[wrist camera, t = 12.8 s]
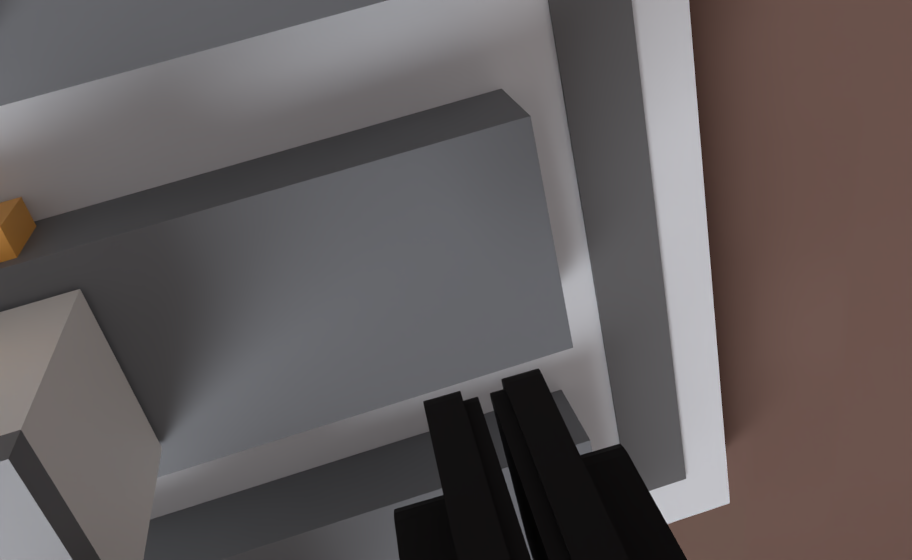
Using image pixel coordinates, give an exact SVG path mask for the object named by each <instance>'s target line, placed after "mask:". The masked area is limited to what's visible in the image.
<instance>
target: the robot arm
mask: <svg viewBox="0 0 912 560" xmlns="http://www.w3.org/2000/svg"><path fill="white" fill-rule="evenodd" d="M502 386H503V389H502V390H499V391H495V392H492V393H490V397H491V402H492V405H493V409H494V413H495V417H496V421H497V425H498V429H499V433H500V437H501V441H502V445H503V449H504V453H505V456H506V460H507V464H508V468H509V472H510V476H511V480H512V484H513V488H514V492H515V496H516V500H517V503H518V507H519V511H520V515H521V519H522V523H523V527H524V531H525V535H526V538H527V542H528V545H529V549H530V552H531V555H532V558H533V560H687V559H686V557H685V555H684V553H683V552H682V550H681V548H680V546H679V544H678V543H677V541H676V539H675V537H674V535H673V534H672V532H671V530H670V528H669V526H668V525H667V523H666V521H665V519H664V517H663V516H662V514H661V512H660V510H659V508H658V507H657V505H656V503H655V501H654V499H653V498H652V496H651V494H650V492H649V490H648V489H647V487H646V485H645V483H644V481H643V480H642V478H641V476H640V474H639V472H638V470H637V469H636V467H635V465H634V463H633V461H632V460H631V458H630V456H629V454H628V453H627V451H626V450H625V448H624V447H623V446H622V445H621V444H617V445H613V446H610V447H606V448H603V449H600V450H596V451H593V452H589V453H586V454H582V455H580V454H579V452H578V450H577V447H576V445H575V443H574V441H573V439H572V437H571V435H570V433H569V430H568V428H567V426H566V424H565V422H564V420H563V418H562V415H561V413H560V411H559V409H558V407H557V405H556V403H555V401H554V398H553V396H552V394H551V392H550V390H549V388H548V386H547V384H546V381H545V379H544V377H543V375H542V373H541V371H540V369H534V370H531V371H527V372H524V373H520V374H517V375H513V376H510V377H506V378H503V379H502ZM423 403H424V408H425V413H426V418H427V422H428V427H429V431H430V436H431V441H432V445H433V450H434V454H435V459H436V463H437V468H438V473H439V477H440V482H441V486H442V491H443V495H441V496H438V497H434V498H431V499H428V500H424V501H421V502H417V503H414V504H410V505H407V506H404V507H400V508H397V509H394V522H395V530H396V537H397V545H398V552H399V560H531V558H530V554H529V551H528V548H527V545H526V542H525V539H524V536H523V533H522V530H521V527H520V524H519V521H518V518H517V515H516V512H515V508H514V505H513V502H512V499H511V496H510V493H509V490H508V487H507V484H506V481H505V478H504V475H503V472H502V469H501V466H500V463H499V459H498V456H497V453H496V450H495V447H494V444H493V441H492V438H491V435H490V432H489V429H488V426H487V423H486V420H485V417H484V413H483V410H482V407H481V404H480V401H479V398H478V397H474V398H471V399H467V400H464V401H463V398H462V395H461V392H460V391H457V392H454V393H450V394H447V395H443V396H440V397H436V398H433V399H429V400H426V401H423Z"/></svg>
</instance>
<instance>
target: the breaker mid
mask: <svg viewBox="0 0 912 560" xmlns="http://www.w3.org/2000/svg"><path fill="white" fill-rule="evenodd" d="M161 451H162V447H161V445H160V443H159V441H158V439H157V437H156V435H155V433H154V431H153V429H152V428H151V426H150V424H149V422H148V420H147V418H146V416H145V414H144V412H143V410H142V408H141V406H140V404H139V402H138V400H137V398H136V396H135V395H134V393H133V391H132V389H131V387H130V385H129V383H128V381H127V379H126V377H125V375H124V373H123V371H122V369H121V367H120V365H119V363H118V362H117V360H116V358H115V356H114V354H113V352H112V350H111V348H110V346H109V344H108V342H107V340H106V338H105V336H104V334H103V332H102V330H101V329H100V327H99V325H98V323H97V321H96V319H95V317H94V315H93V313H92V311H91V309H90V307H89V305H88V303H87V301H86V299H85V297H84V296H83V294H82V292H81V290H80V289H78V290H74V291H71V292H67V293H64V294H61V295H57V296H54V297H50V298H47V299H44V300H40V301H37V302H33V303H30V304H26V305H23V306H20V307H16V308H13V309H9V310H6V311H2V312H0V560H143V559H144V553H145V547H146V541H147V535H148V529H149V523H150V517H151V511H152V505H153V499H154V493H155V487H156V481H157V475H158V469H159V463H160V457H161Z"/></svg>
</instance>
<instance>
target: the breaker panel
mask: <svg viewBox="0 0 912 560" xmlns="http://www.w3.org/2000/svg"><path fill="white" fill-rule="evenodd" d="M78 289H80V290H81V292H82V294H83V296H84V297H85V299H86V301H87V303H88V305H89V307H90V309H91V311H92V313H93V315H94V317H95V319H96V321H97V323H98V325H99V327H100V329H101V330H102V332H103V334H104V336H105V338H106V340H107V342H108V344H109V346H110V348H111V350H112V352H113V354H114V356H115V358H116V360H117V362H118V363H119V365H120V367H121V369H122V371H123V373H124V375H125V377H126V379H127V381H128V383H129V385H130V387H131V389H132V391H133V393H134V395H135V396H136V398H137V400H138V402H139V404H140V406H141V408H142V410H143V412H144V414H145V416H146V418H147V420H148V422H149V424H150V426H151V428H152V429H153V431H154V433H155V435H156V437H157V439H158V441H159V443H160V445H161V447H162V451H161V457H160V463H159V469H158V475H157V481H156V487H155V493H154V499H153V505H152V511H151V517H150V523H149V529H148V535H147V541H146V547H145V553H144V559H143V560H399V552H398V545H397V537H396V530H395V522H394V509H397V508H400V507H404V506H407V505H410V504H414V503H417V502H421V501H424V500H428V499H431V498H434V497H438V496H441V495H443V491H442V486H441V482H440V477H439V473H438V468H437V463H436V459H435V454H434V450H433V445H432V441H431V436H430V431H429V427H428V422H427V418H426V413H425V408H424V403H423V401H426V400H429V399H433V398H436V397H440V396H443V395H447V394H450V393H454V392H457V391H460V392H461V395H462V398H463V401H464V400H467V399H471V398H474V397H478V398H479V401H480V404H481V407H482V410H483V413H484V417H485V420H486V423H487V426H488V429H489V432H490V435H491V438H492V441H493V444H494V447H495V450H496V453H497V456H498V459H499V463H500V466H501V469H502V472H503V475H504V478H505V481H506V484H507V487H508V490H509V493H510V496H511V499H512V502H513V505H514V508H515V512H516V515H517V518H518V521H519V524H520V527H521V530H522V533H523V536H524V539H525V542H526V545H527V548H528V551H529V554H530V558H531V560H533V558H532V555H531V552H530V549H529V545H528V542H527V538H526V535H525V531H524V527H523V523H522V519H521V515H520V511H519V507H518V503H517V500H516V496H515V492H514V488H513V484H512V480H511V476H510V472H509V468H508V464H507V460H506V456H505V453H504V449H503V445H502V441H501V437H500V433H499V429H498V425H497V421H496V417H495V413H494V409H493V405H492V402H491V397H490V393H492V392H495V391H499V390H502V389H503V386H502V379H503V378H506V377H510V376H513V375H517V374H520V373H524V372H527V371H531V370H534V369H540V371H541V373H542V375H543V377H544V379H545V381H546V384H547V386H548V388H549V390H550V392H551V394H552V396H553V398H554V401H555V403H556V405H557V407H558V409H559V411H560V413H561V415H562V418H563V420H564V422H565V424H566V426H567V428H568V430H569V433H570V435H571V437H572V439H573V441H574V443H575V445H576V447H577V450H578V452H579V454H580V455H582V454H586V453H589V452H593V451H596V450H600V449H603V448H606V447H610V446H613V445H617V444H621V445H622V446H623V447H624V448H625V450H626V451H627V453H628V454H629V456H630V458H631V460H632V461H633V463H634V465H635V467H636V469H637V470H638V472H639V474H640V476H641V478H642V480H643V481H644V483H645V485H646V487H647V489H648V490H649V492H650V494H651V496H652V498H653V499H654V501H655V503H656V505H657V507H658V508H659V510H660V512H661V514H662V516H663V517H664V519H665V521H666V523H667V524H669V523H672V522H675V521H678V520H681V519H684V518H687V517H690V516H693V515H696V514H699V513H702V512H705V511H708V510H711V509H714V508H717V507H720V506H723V505H726V504H729V503H730V498H729V486H728V474H727V462H726V449H725V437H724V425H723V413H722V400H721V388H720V376H719V363H718V351H717V339H716V327H715V314H714V302H713V290H712V277H711V265H710V253H709V241H708V228H707V216H706V204H705V191H704V179H703V167H702V155H701V142H700V130H699V118H698V105H697V93H696V81H695V69H694V56H693V44H692V32H691V20H690V7H689V0H0V312H2V311H6V310H9V309H13V308H16V307H20V306H23V305H26V304H30V303H33V302H37V301H40V300H44V299H47V298H50V297H54V296H57V295H61V294H64V293H67V292H71V291H74V290H78Z"/></svg>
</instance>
